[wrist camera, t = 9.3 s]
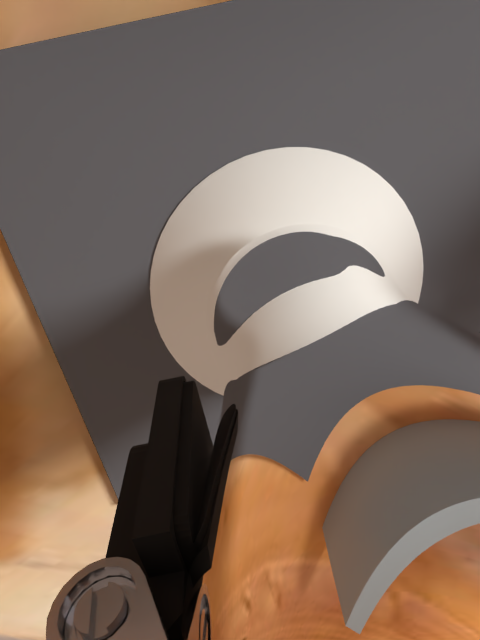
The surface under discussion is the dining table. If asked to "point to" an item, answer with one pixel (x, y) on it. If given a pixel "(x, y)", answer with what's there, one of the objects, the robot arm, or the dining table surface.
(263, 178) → the dark gray mat
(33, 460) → the dining table surface
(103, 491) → the dining table surface
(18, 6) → the dining table surface
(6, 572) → the dining table surface
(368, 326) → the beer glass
